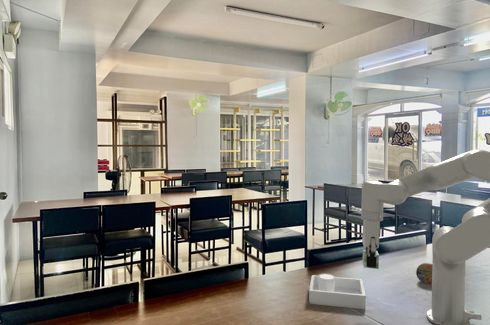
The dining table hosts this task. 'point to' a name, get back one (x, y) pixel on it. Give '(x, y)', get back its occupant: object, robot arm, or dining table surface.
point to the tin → (425, 273)
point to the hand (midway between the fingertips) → (370, 263)
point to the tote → (339, 293)
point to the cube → (365, 254)
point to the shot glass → (326, 282)
